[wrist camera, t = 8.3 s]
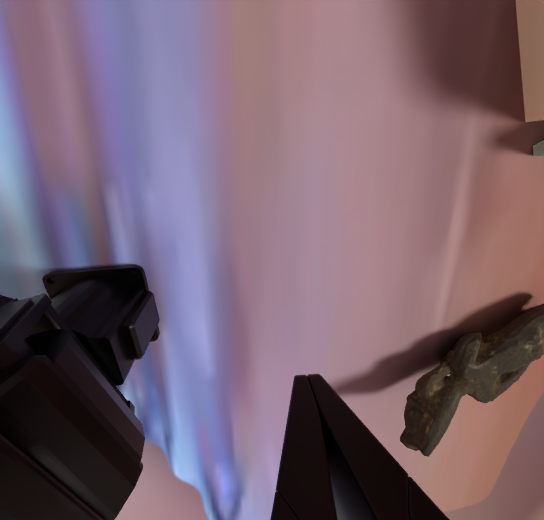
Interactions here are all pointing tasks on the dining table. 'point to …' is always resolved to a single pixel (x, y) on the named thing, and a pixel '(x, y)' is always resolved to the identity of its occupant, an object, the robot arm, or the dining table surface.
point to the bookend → (532, 56)
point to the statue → (471, 377)
